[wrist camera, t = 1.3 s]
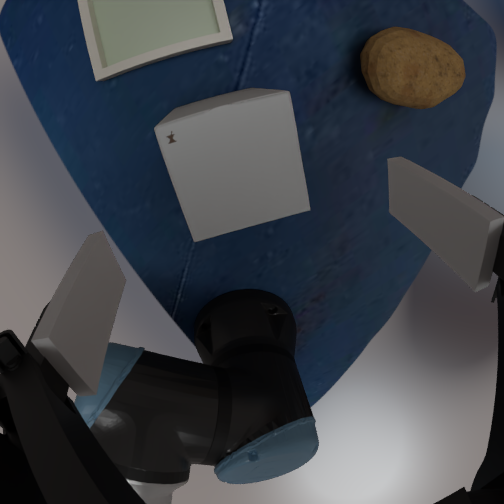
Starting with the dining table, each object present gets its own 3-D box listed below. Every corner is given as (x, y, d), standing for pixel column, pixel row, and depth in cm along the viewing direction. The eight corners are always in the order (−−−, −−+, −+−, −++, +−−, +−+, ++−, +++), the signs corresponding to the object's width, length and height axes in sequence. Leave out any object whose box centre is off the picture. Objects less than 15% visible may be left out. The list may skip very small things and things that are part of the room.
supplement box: (194, 182, 35) (190, 247, 22) (172, 108, 30) (148, 125, 18) (272, 162, 35) (313, 214, 22) (255, 86, 30) (291, 88, 18)
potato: (440, 101, 33) (480, 111, 26) (351, 110, 33) (386, 120, 26) (430, 32, 28) (471, 30, 21) (336, 31, 28) (369, 22, 21)
